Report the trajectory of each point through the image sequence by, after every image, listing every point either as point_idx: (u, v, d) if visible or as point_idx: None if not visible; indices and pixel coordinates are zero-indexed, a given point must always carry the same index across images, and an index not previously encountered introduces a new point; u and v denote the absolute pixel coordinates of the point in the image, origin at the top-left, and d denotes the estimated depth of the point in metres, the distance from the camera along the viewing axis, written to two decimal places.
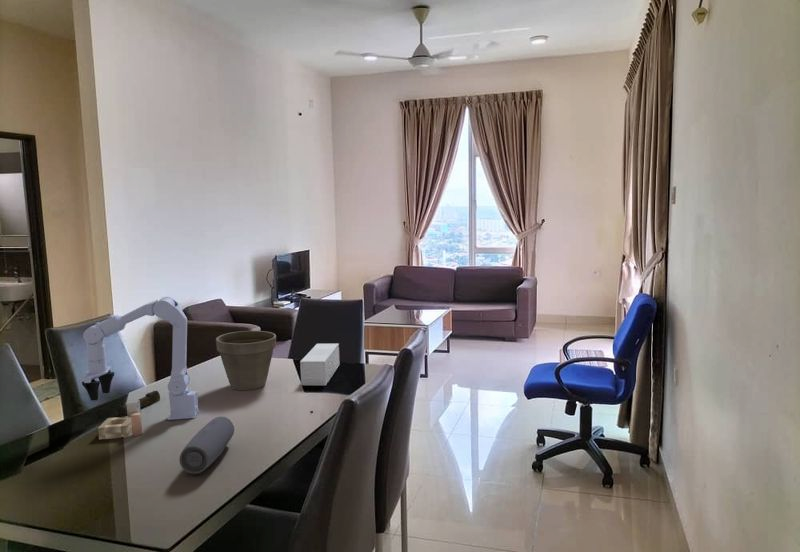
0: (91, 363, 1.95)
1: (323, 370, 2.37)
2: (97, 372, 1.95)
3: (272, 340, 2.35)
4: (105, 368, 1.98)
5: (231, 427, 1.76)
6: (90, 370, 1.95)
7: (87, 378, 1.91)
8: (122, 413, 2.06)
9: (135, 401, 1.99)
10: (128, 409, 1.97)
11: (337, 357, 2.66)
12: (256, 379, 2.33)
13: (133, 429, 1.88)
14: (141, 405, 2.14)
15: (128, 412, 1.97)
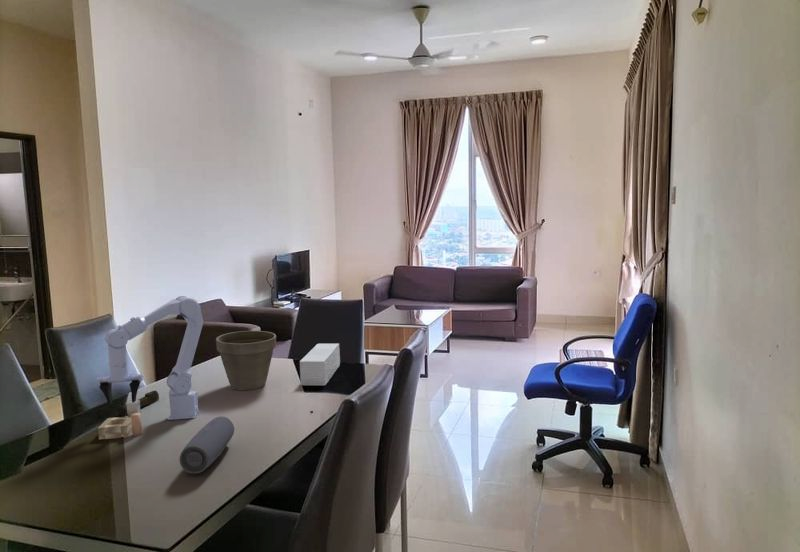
0: None
1: (322, 370, 2.37)
2: (110, 377, 1.90)
3: (272, 340, 2.35)
4: (116, 376, 1.89)
5: (231, 427, 1.76)
6: None
7: None
8: (122, 413, 2.06)
9: (135, 401, 1.99)
10: (128, 409, 1.97)
11: (337, 357, 2.66)
12: (256, 379, 2.33)
13: (133, 429, 1.88)
14: (141, 405, 2.14)
15: (128, 412, 1.97)
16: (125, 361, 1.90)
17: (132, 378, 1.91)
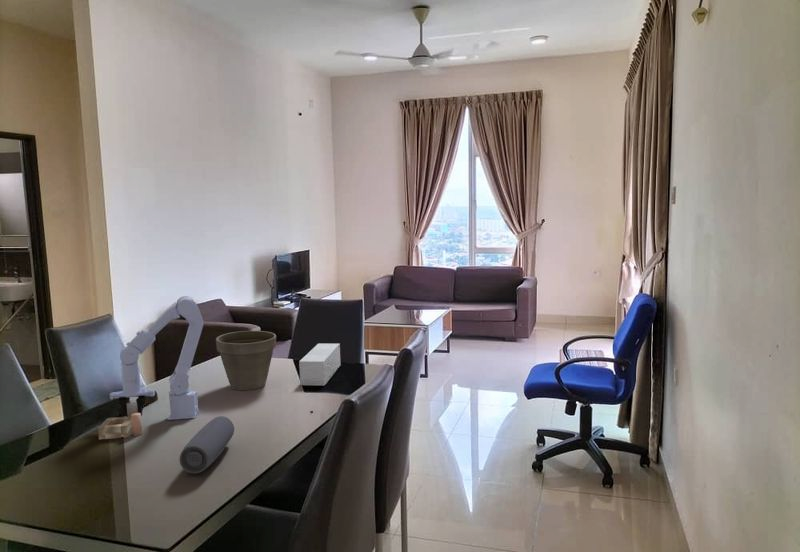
0: None
1: (322, 370, 2.37)
2: (123, 392, 1.96)
3: (272, 340, 2.35)
4: (129, 391, 1.95)
5: (231, 427, 1.76)
6: None
7: None
8: (123, 413, 2.06)
9: (135, 401, 1.99)
10: (128, 409, 1.97)
11: (338, 357, 2.66)
12: (256, 379, 2.33)
13: (133, 429, 1.88)
14: None
15: (128, 412, 1.97)
16: (136, 377, 1.96)
17: (144, 393, 1.97)
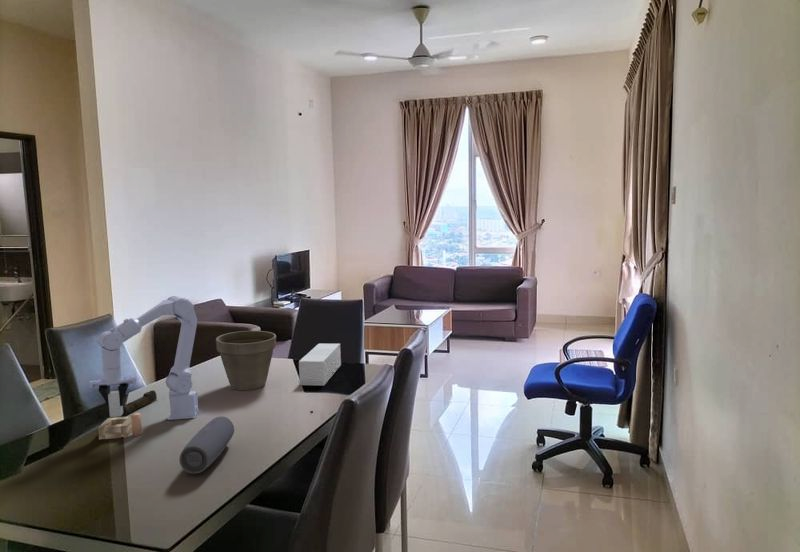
0: None
1: (321, 370, 2.37)
2: (104, 380, 1.87)
3: (272, 340, 2.35)
4: (110, 378, 1.86)
5: (231, 427, 1.76)
6: None
7: None
8: (123, 413, 2.06)
9: (117, 392, 1.90)
10: (110, 400, 1.88)
11: (338, 357, 2.65)
12: (256, 379, 2.33)
13: (133, 429, 1.88)
14: (140, 405, 2.14)
15: (110, 403, 1.88)
16: (119, 364, 1.87)
17: (126, 381, 1.88)
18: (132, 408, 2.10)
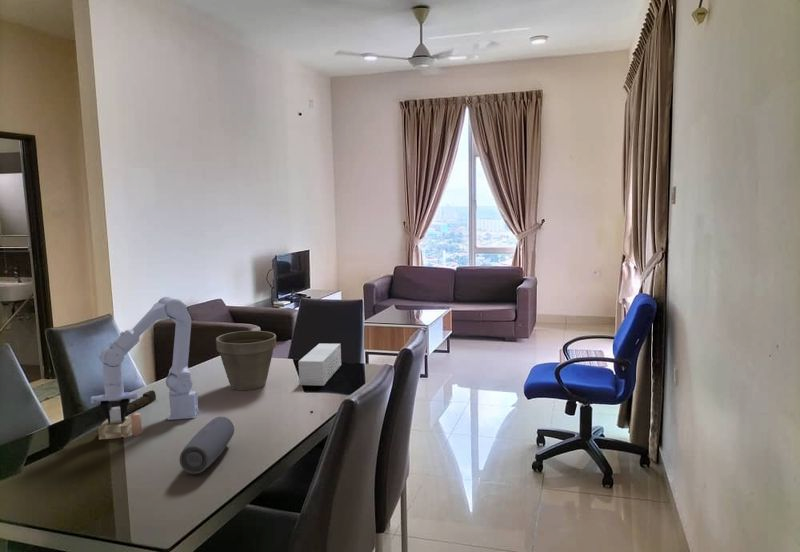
0: None
1: (321, 370, 2.37)
2: (105, 396, 1.87)
3: (272, 340, 2.35)
4: (112, 394, 1.86)
5: (231, 427, 1.76)
6: None
7: None
8: None
9: (118, 407, 1.90)
10: (111, 416, 1.88)
11: (338, 357, 2.65)
12: (256, 379, 2.33)
13: (133, 429, 1.88)
14: (140, 405, 2.14)
15: (111, 419, 1.88)
16: (121, 379, 1.88)
17: (128, 396, 1.89)
18: (132, 408, 2.10)
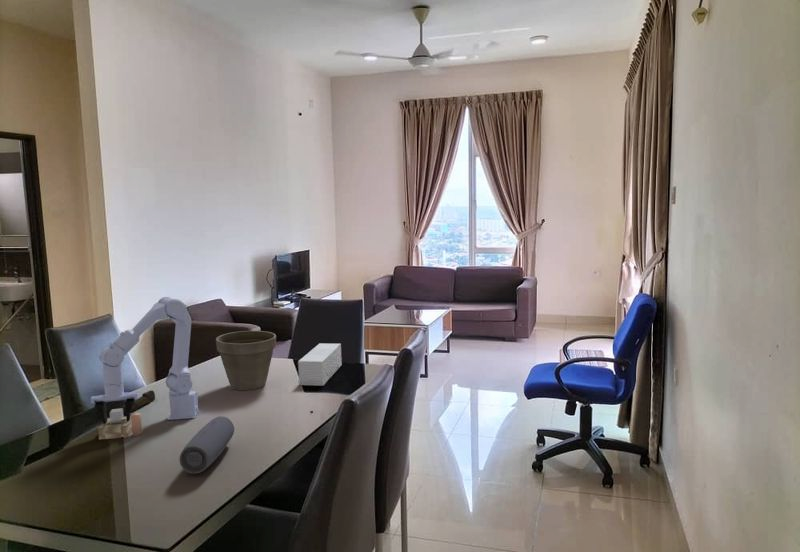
0: None
1: (321, 370, 2.37)
2: (105, 396, 1.87)
3: (272, 340, 2.35)
4: (112, 394, 1.86)
5: (231, 427, 1.76)
6: None
7: None
8: (123, 413, 2.06)
9: (118, 410, 1.90)
10: (111, 418, 1.88)
11: (339, 357, 2.65)
12: (256, 379, 2.33)
13: (133, 429, 1.88)
14: (140, 405, 2.14)
15: (111, 421, 1.88)
16: (121, 379, 1.88)
17: (128, 397, 1.89)
18: (132, 408, 2.10)
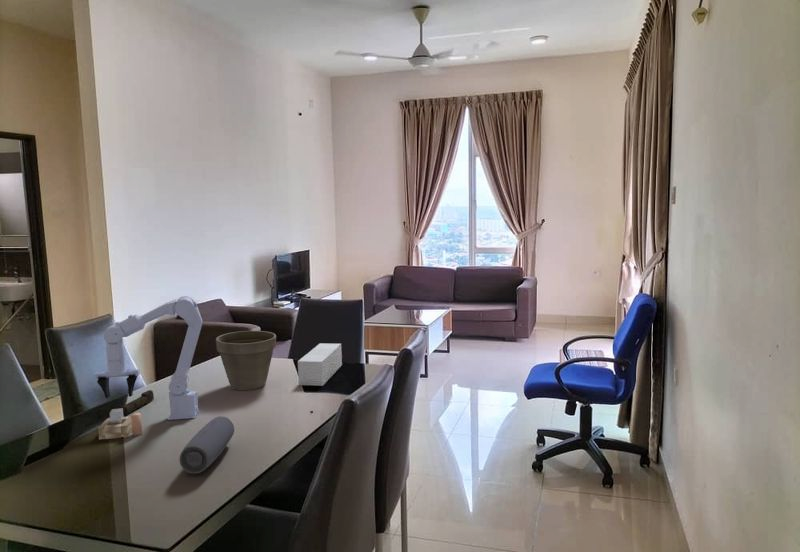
0: None
1: (320, 370, 2.37)
2: (108, 371, 1.96)
3: (272, 340, 2.35)
4: (114, 370, 1.95)
5: (231, 427, 1.76)
6: None
7: None
8: (124, 412, 2.06)
9: (118, 410, 1.90)
10: (111, 418, 1.88)
11: (339, 357, 2.65)
12: (256, 379, 2.33)
13: (133, 429, 1.88)
14: (139, 404, 2.15)
15: (111, 421, 1.88)
16: (120, 357, 1.95)
17: (129, 373, 1.97)
18: (132, 408, 2.10)
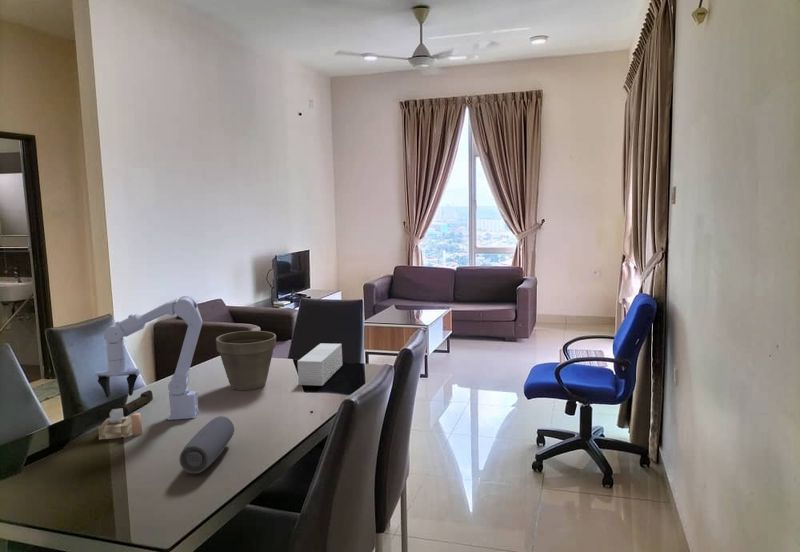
0: None
1: (320, 370, 2.37)
2: (108, 371, 1.97)
3: (272, 340, 2.35)
4: (114, 370, 1.96)
5: (231, 427, 1.76)
6: None
7: None
8: (124, 413, 2.06)
9: (118, 410, 1.90)
10: (111, 418, 1.88)
11: (339, 357, 2.65)
12: (256, 379, 2.33)
13: (133, 429, 1.88)
14: (139, 405, 2.15)
15: (111, 421, 1.88)
16: (120, 356, 1.96)
17: (129, 372, 1.98)
18: (132, 408, 2.10)
